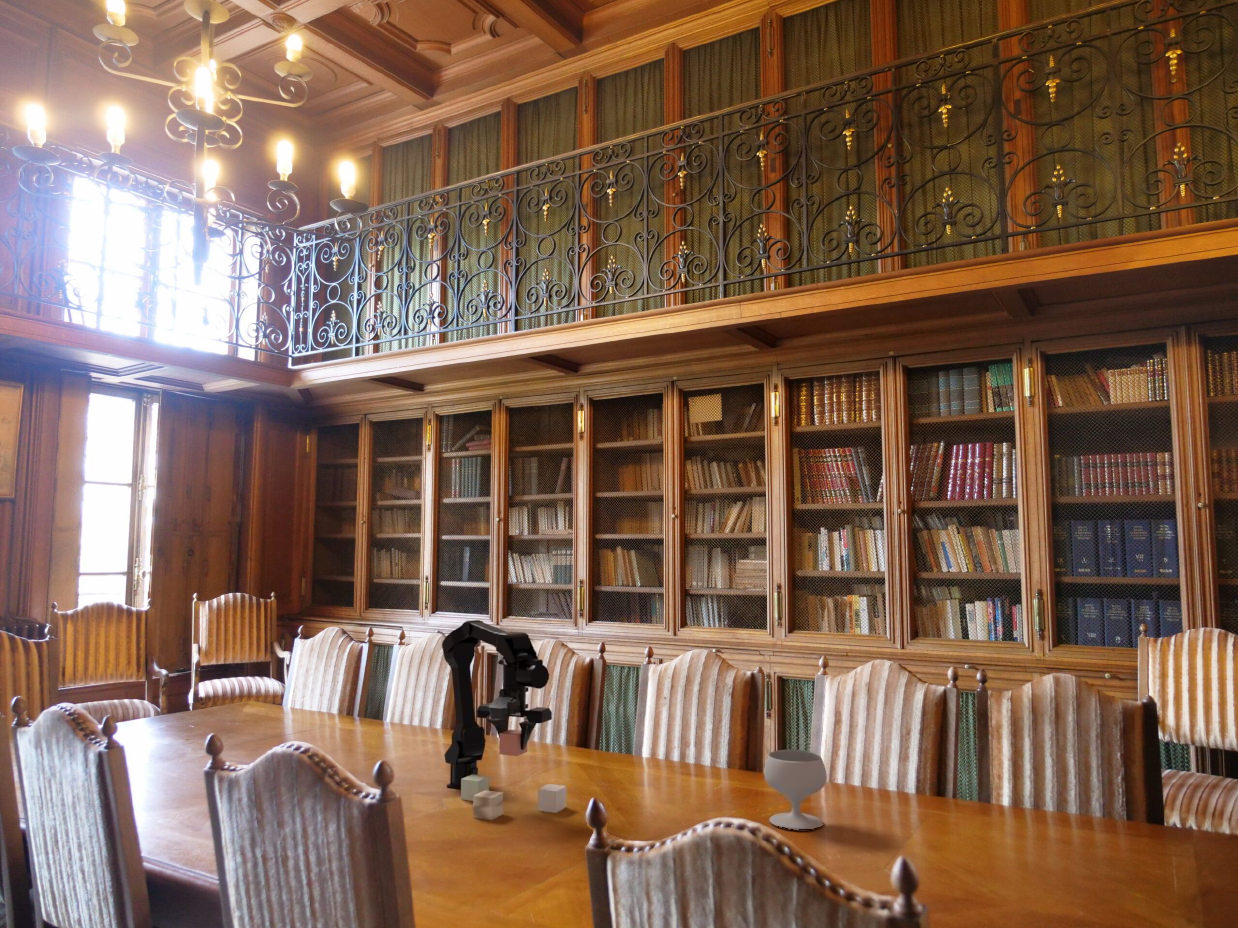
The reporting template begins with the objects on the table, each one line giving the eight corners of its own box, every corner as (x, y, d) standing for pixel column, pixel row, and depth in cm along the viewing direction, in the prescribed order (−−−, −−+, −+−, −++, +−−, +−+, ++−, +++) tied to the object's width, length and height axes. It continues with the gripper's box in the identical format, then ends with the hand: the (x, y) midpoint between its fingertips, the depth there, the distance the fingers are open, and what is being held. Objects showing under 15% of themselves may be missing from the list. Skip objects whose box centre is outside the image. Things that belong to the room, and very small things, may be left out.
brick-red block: (499, 754, 206) (499, 733, 206) (509, 749, 210) (510, 729, 211) (516, 756, 204) (517, 734, 204) (527, 751, 208) (527, 731, 209)
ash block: (473, 817, 194) (473, 795, 195) (484, 811, 199) (485, 789, 200) (491, 820, 192) (491, 797, 193) (502, 814, 197) (503, 792, 197)
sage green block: (460, 799, 209) (461, 778, 209) (472, 794, 213) (472, 774, 214) (477, 801, 207) (478, 780, 207) (488, 796, 211) (489, 776, 212)
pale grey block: (537, 810, 200) (538, 788, 200) (547, 804, 204) (548, 783, 205) (556, 813, 198) (556, 791, 198) (566, 807, 202) (566, 785, 203)
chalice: (830, 817, 195) (828, 750, 196) (824, 836, 182) (823, 764, 183) (770, 811, 199) (769, 746, 201) (760, 829, 186) (759, 759, 188)
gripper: (464, 686, 205) (463, 751, 204) (530, 691, 198) (529, 759, 196) (489, 680, 215) (488, 742, 214) (553, 684, 208) (552, 749, 206)
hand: (513, 748), depth 207 cm, fingers closed on brick-red block, 5 cm apart
